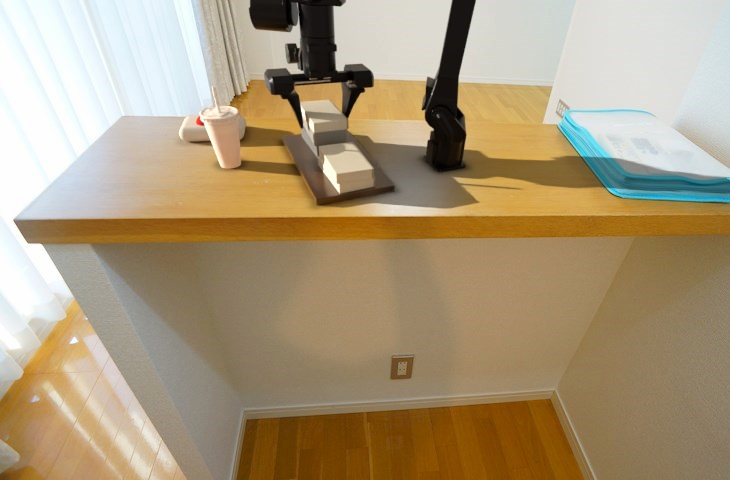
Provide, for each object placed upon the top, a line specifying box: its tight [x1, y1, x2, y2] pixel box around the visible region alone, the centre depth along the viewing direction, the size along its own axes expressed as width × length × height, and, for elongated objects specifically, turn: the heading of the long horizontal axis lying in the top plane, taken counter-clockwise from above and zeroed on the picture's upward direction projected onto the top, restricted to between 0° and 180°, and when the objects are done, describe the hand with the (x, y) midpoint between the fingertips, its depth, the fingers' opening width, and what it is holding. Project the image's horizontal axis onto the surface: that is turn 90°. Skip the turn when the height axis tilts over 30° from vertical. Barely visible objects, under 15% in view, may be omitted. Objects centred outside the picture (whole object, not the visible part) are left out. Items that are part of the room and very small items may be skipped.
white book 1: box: [300, 99, 350, 133], centre depth 79 cm, size 6×11×2 cm, turn 25°
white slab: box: [178, 115, 247, 142], centre depth 85 cm, size 12×4×10 cm
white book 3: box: [317, 156, 375, 194], centre depth 73 cm, size 6×11×2 cm, turn 28°
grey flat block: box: [302, 116, 346, 146], centre depth 80 cm, size 6×11×3 cm, turn 23°
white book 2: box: [319, 142, 374, 184], centre depth 72 cm, size 6×11×2 cm, turn 24°
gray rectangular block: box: [300, 126, 348, 158], centre depth 82 cm, size 6×11×3 cm, turn 27°
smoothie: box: [199, 85, 242, 169], centre depth 72 cm, size 6×6×14 cm
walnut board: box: [281, 129, 396, 206], centre depth 79 cm, size 14×26×1 cm, turn 25°
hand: (323, 125), depth 80 cm, fingers open, 8 cm apart
